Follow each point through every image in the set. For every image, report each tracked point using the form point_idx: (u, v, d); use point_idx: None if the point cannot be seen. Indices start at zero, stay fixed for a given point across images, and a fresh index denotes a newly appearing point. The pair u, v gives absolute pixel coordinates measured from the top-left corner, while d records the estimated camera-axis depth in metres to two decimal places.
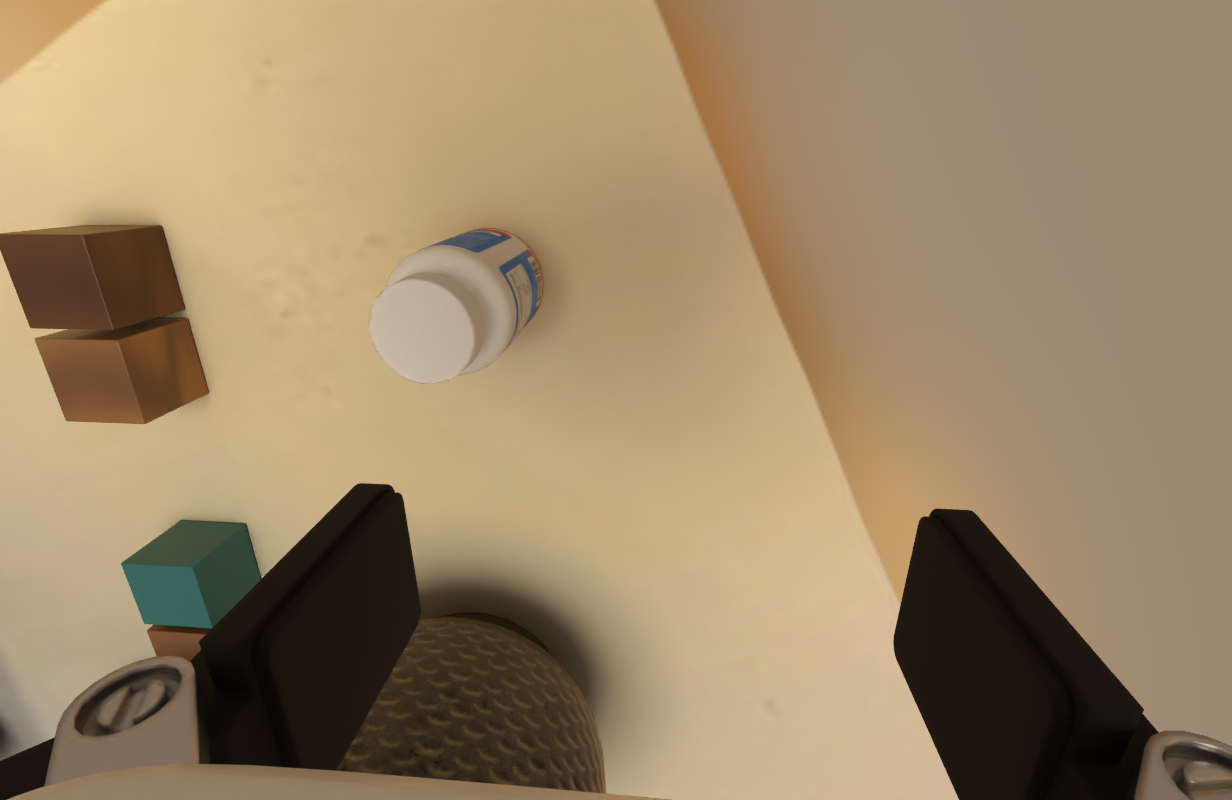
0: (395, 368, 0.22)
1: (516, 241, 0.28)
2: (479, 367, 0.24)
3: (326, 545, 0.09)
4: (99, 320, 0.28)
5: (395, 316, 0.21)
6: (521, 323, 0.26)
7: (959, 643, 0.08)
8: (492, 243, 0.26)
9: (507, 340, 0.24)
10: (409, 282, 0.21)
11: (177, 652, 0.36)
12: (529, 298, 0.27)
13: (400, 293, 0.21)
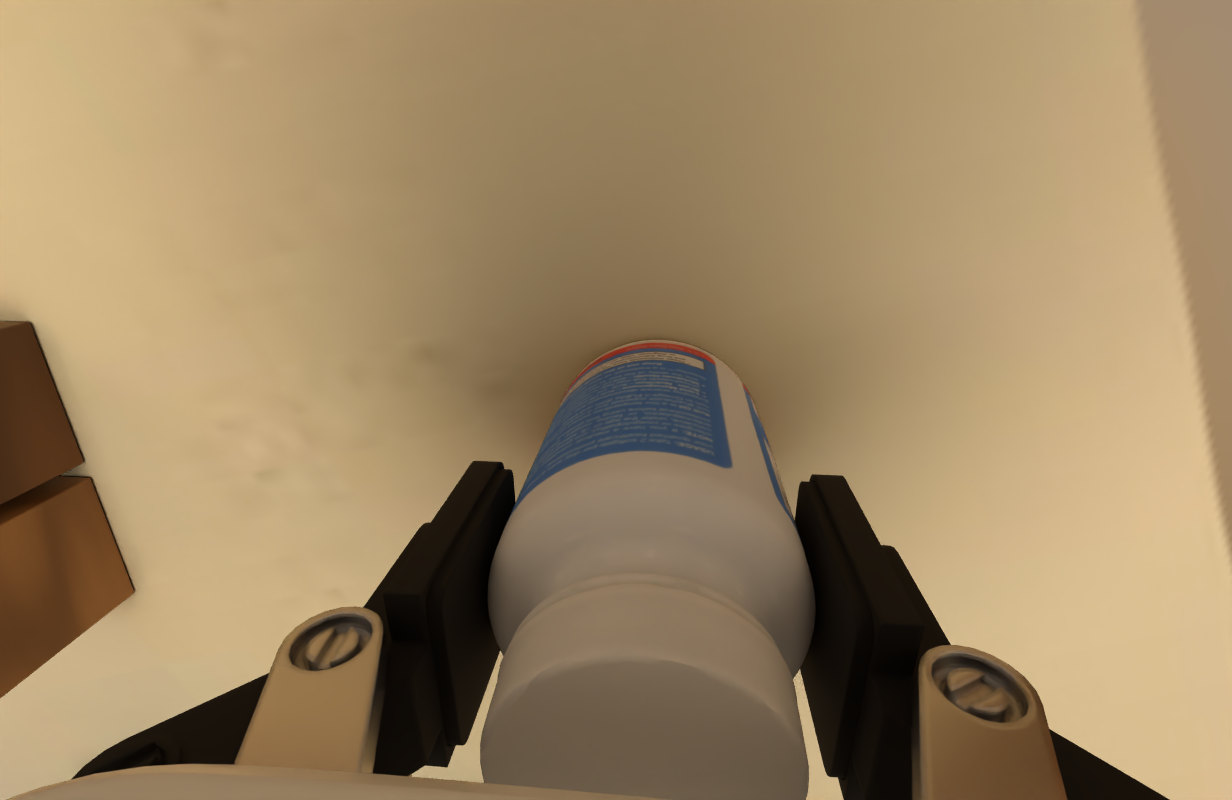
0: None
1: (725, 370, 0.14)
2: None
3: (464, 513, 0.09)
4: None
5: (567, 739, 0.07)
6: None
7: (816, 588, 0.09)
8: (716, 405, 0.11)
9: None
10: (624, 663, 0.06)
11: None
12: None
13: (590, 689, 0.06)
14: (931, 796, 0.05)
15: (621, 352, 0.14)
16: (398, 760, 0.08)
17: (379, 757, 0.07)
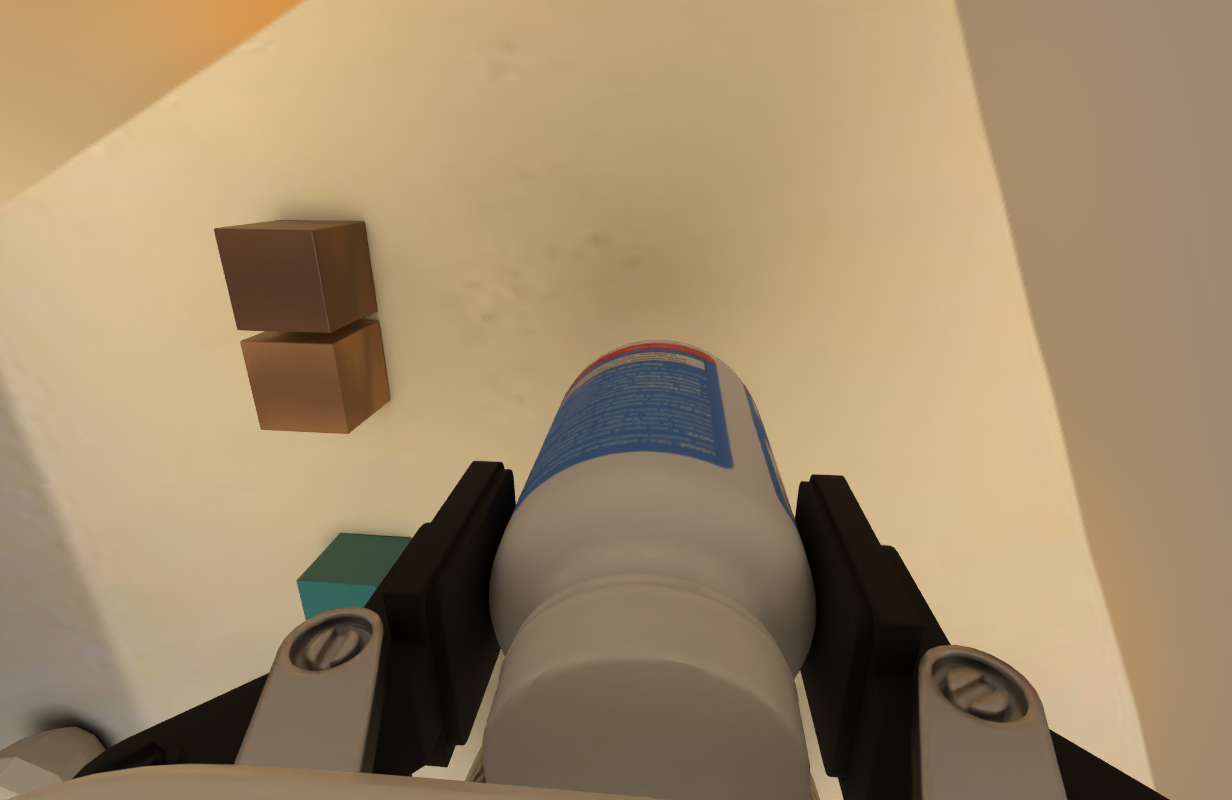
0: None
1: (726, 370, 0.14)
2: None
3: (464, 513, 0.09)
4: (316, 322, 0.26)
5: (568, 740, 0.07)
6: None
7: (816, 588, 0.09)
8: (717, 405, 0.11)
9: None
10: (626, 663, 0.06)
11: None
12: None
13: (592, 689, 0.07)
14: (931, 796, 0.05)
15: (622, 352, 0.14)
16: (399, 761, 0.08)
17: (379, 757, 0.07)
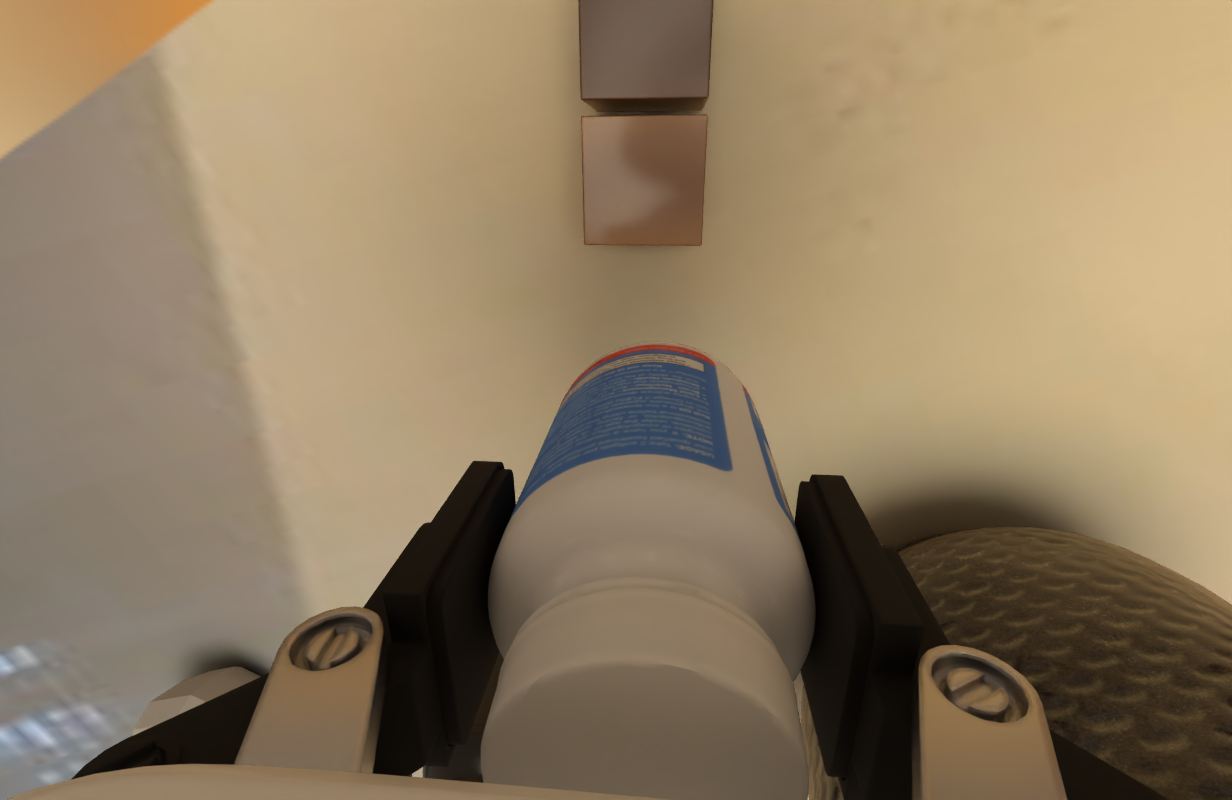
0: None
1: (725, 372, 0.14)
2: None
3: (464, 513, 0.09)
4: (692, 82, 0.20)
5: (567, 743, 0.07)
6: None
7: (816, 588, 0.09)
8: (716, 407, 0.11)
9: None
10: (624, 667, 0.06)
11: None
12: None
13: (590, 693, 0.06)
14: (931, 796, 0.05)
15: (621, 354, 0.14)
16: (399, 761, 0.08)
17: (379, 757, 0.07)
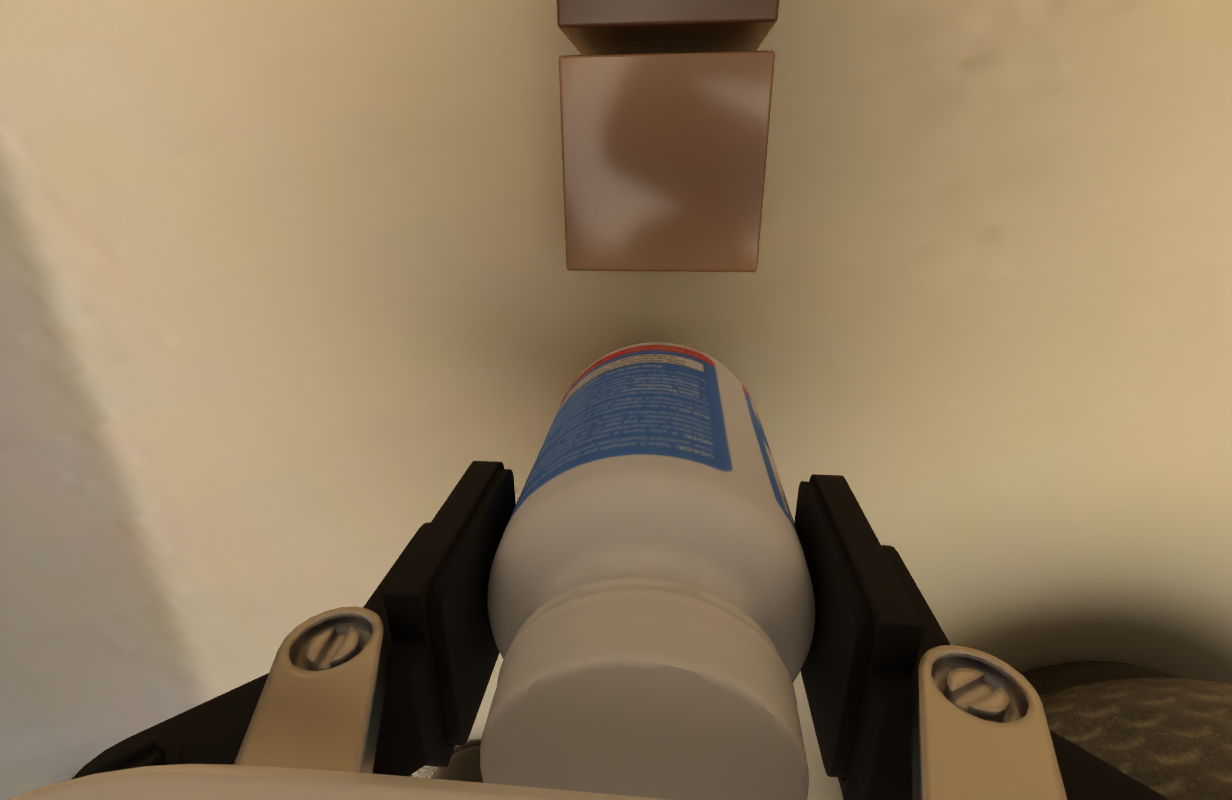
0: None
1: (725, 372, 0.14)
2: None
3: (464, 513, 0.09)
4: None
5: (566, 745, 0.07)
6: None
7: (816, 588, 0.09)
8: (716, 408, 0.11)
9: None
10: (624, 667, 0.06)
11: None
12: None
13: (590, 693, 0.06)
14: (931, 796, 0.05)
15: (621, 354, 0.14)
16: (398, 761, 0.08)
17: (379, 757, 0.07)
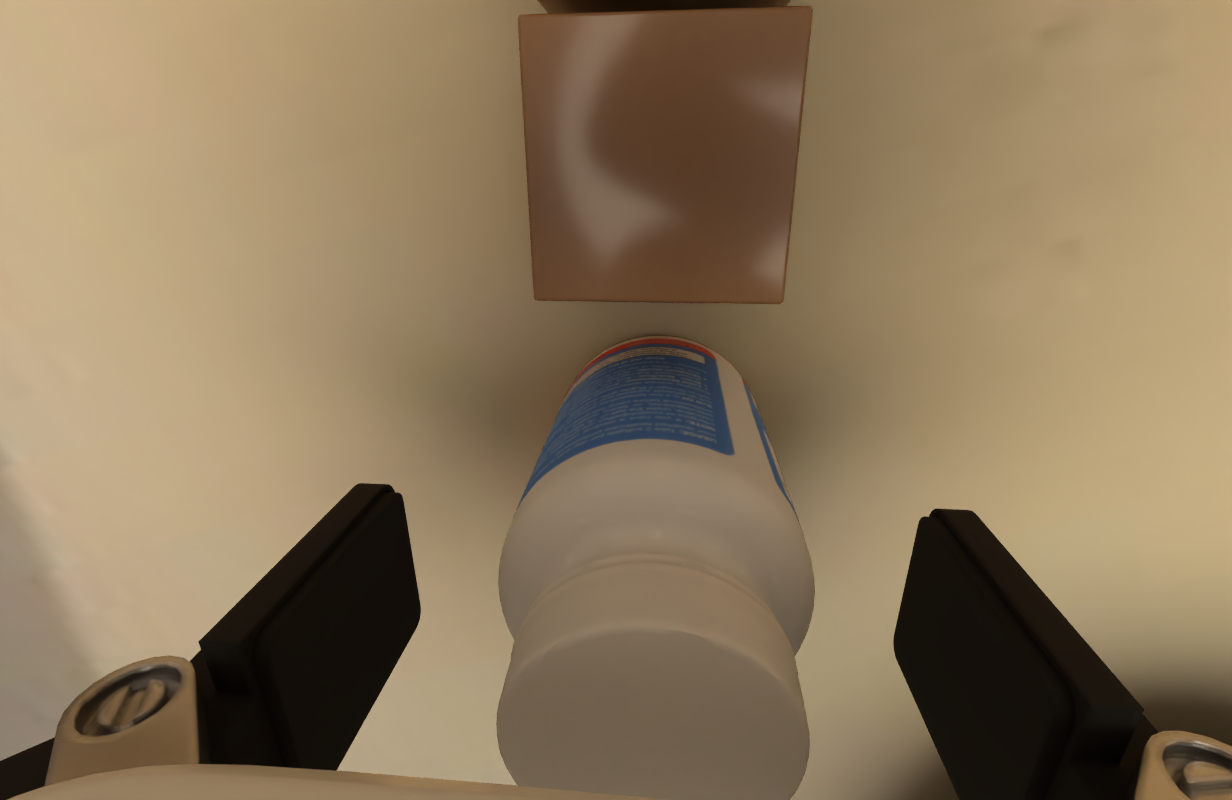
0: None
1: (725, 365, 0.14)
2: None
3: (326, 545, 0.09)
4: None
5: (580, 709, 0.07)
6: None
7: (959, 643, 0.08)
8: (718, 397, 0.12)
9: None
10: (635, 633, 0.07)
11: None
12: None
13: (603, 659, 0.07)
14: None
15: (624, 348, 0.14)
16: None
17: None
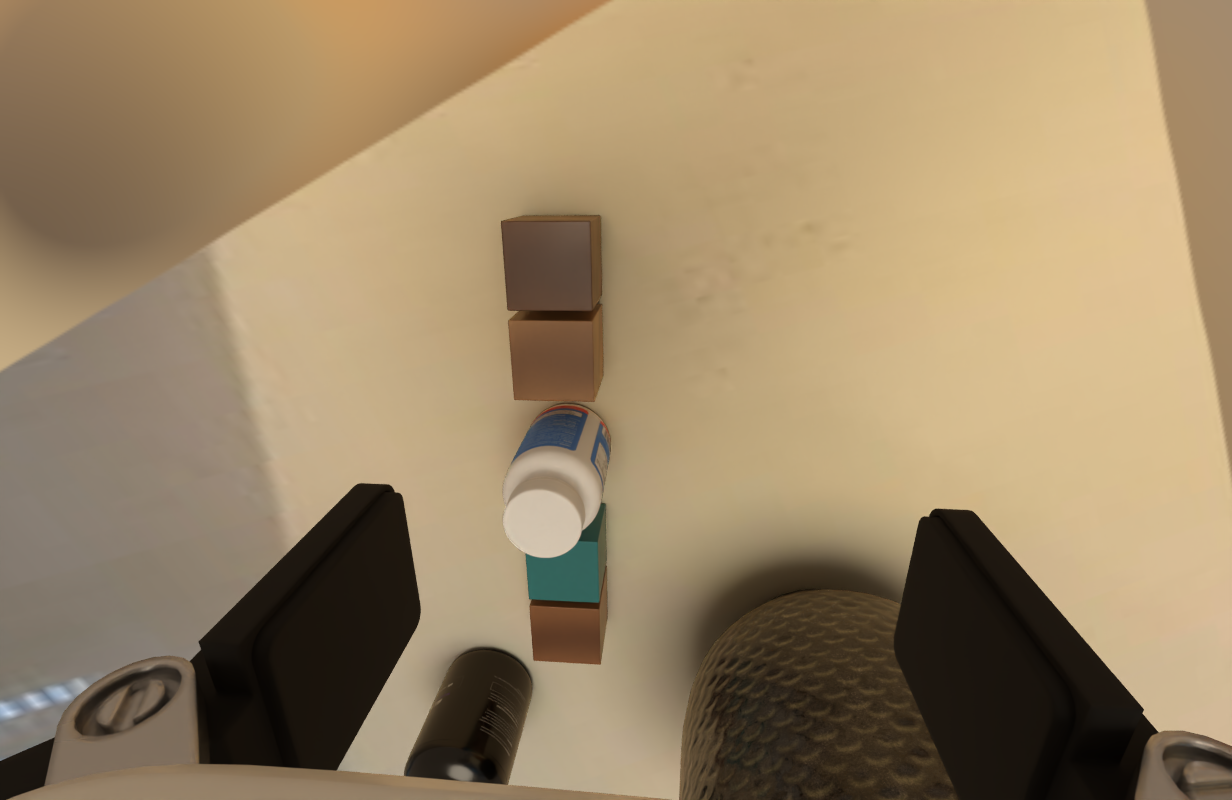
0: (520, 547, 0.29)
1: (592, 416, 0.36)
2: None
3: (326, 545, 0.09)
4: (581, 302, 0.30)
5: (523, 513, 0.29)
6: None
7: (959, 643, 0.08)
8: (579, 431, 0.33)
9: (596, 514, 0.32)
10: (536, 491, 0.28)
11: (554, 627, 0.38)
12: (606, 469, 0.34)
13: (528, 498, 0.28)
14: None
15: (552, 409, 0.36)
16: None
17: None
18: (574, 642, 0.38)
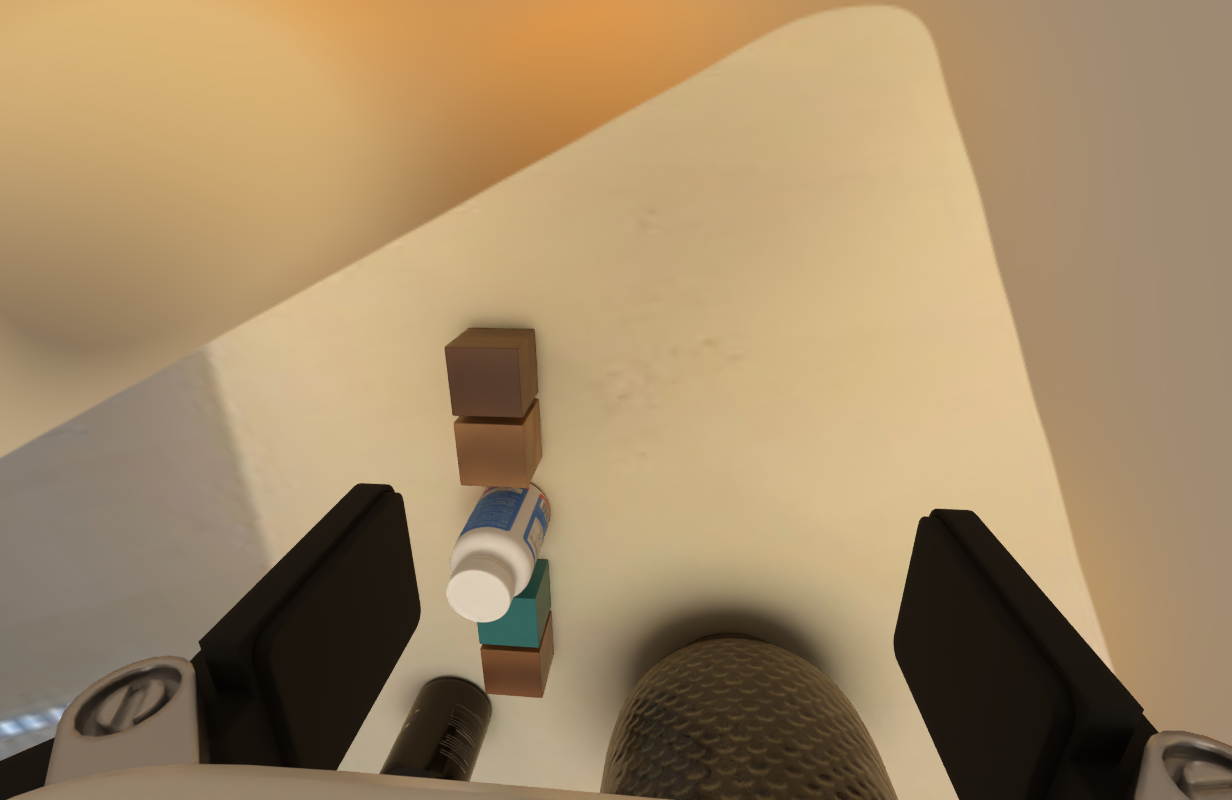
0: (461, 614, 0.36)
1: (532, 491, 0.42)
2: None
3: (326, 545, 0.09)
4: (512, 410, 0.36)
5: (462, 588, 0.35)
6: None
7: (959, 643, 0.08)
8: (517, 509, 0.40)
9: (528, 582, 0.38)
10: (471, 571, 0.35)
11: (502, 667, 0.44)
12: (541, 539, 0.41)
13: (466, 577, 0.35)
14: None
15: None
16: None
17: None
18: (519, 679, 0.45)
